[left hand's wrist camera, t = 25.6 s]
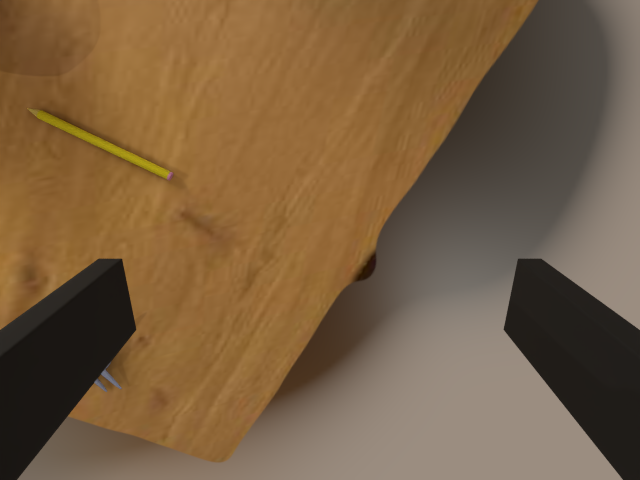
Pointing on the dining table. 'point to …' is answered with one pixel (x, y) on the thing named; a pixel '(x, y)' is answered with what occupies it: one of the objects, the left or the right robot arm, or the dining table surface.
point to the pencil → (101, 143)
